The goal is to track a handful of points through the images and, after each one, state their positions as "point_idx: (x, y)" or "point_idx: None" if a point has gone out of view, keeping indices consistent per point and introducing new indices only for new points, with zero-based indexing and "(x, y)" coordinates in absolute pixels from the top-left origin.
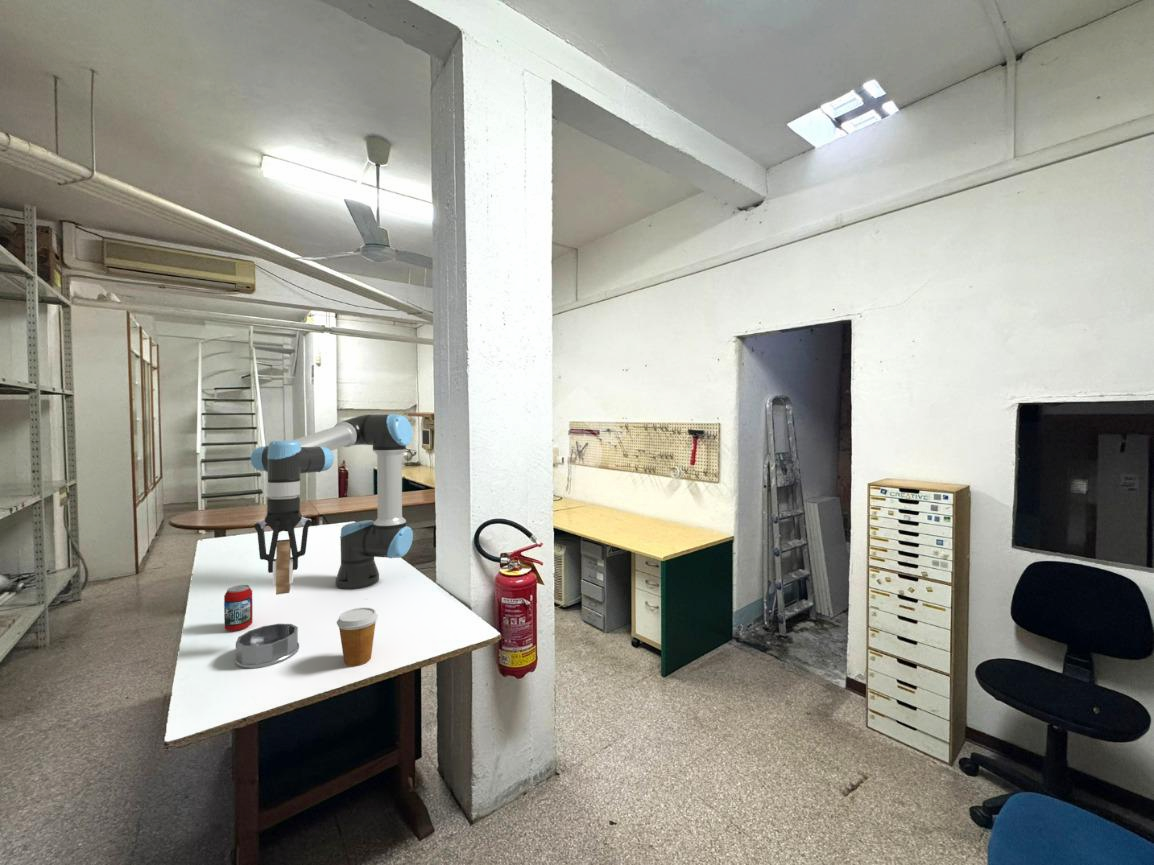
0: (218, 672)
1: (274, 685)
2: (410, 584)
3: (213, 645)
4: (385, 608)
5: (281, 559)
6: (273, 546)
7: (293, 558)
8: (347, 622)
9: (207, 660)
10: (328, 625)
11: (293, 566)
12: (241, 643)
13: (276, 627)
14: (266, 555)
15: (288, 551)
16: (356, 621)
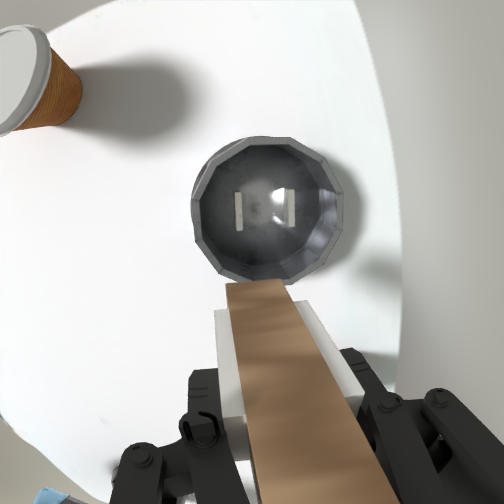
0: (346, 158)
1: (220, 40)
2: (47, 441)
3: (370, 300)
4: (47, 362)
5: (310, 411)
6: (417, 491)
7: (212, 419)
8: (24, 26)
9: (373, 231)
10: (145, 324)
11: (214, 385)
12: (328, 225)
13: (257, 279)
14: (422, 423)
15: (268, 475)
16: (5, 28)
